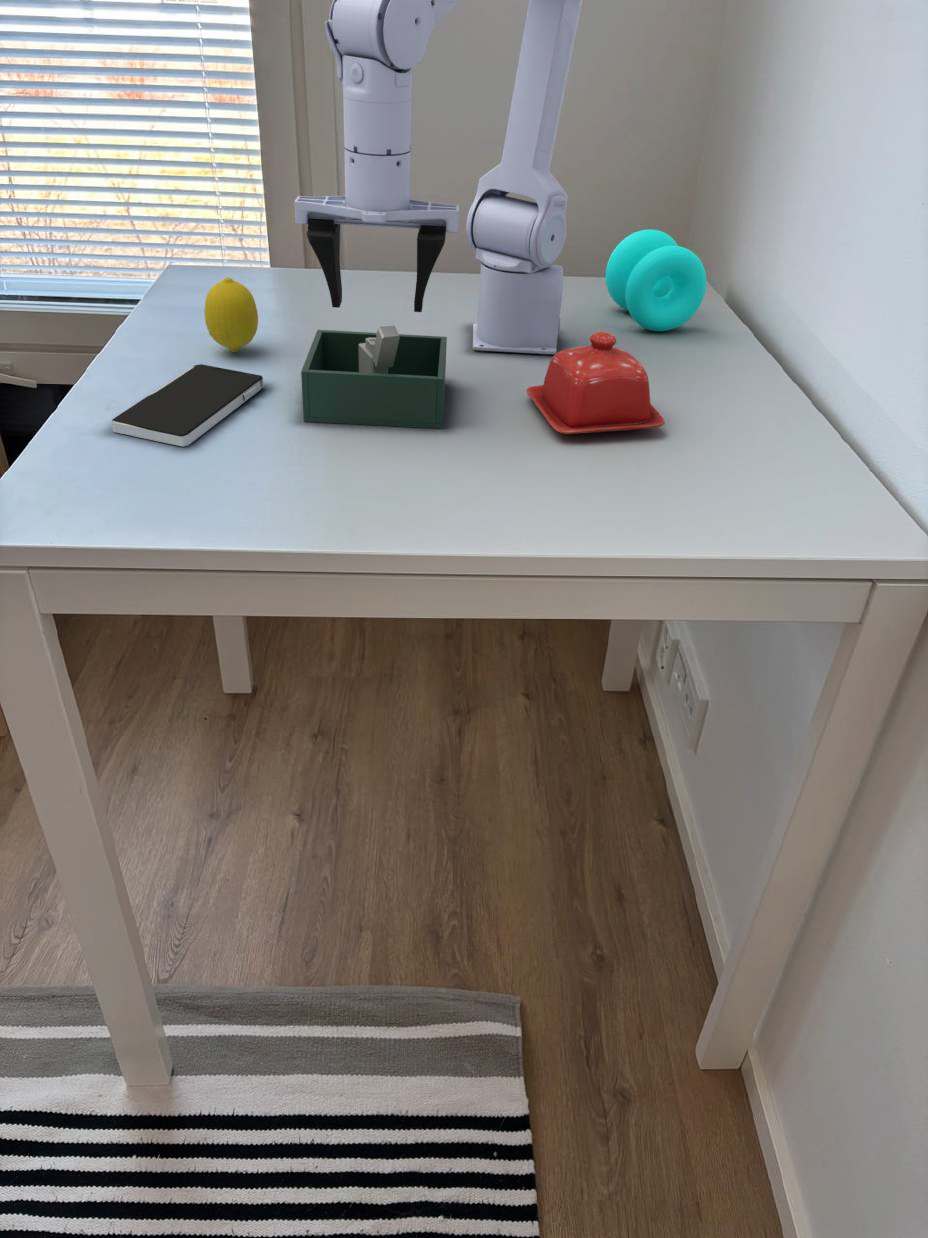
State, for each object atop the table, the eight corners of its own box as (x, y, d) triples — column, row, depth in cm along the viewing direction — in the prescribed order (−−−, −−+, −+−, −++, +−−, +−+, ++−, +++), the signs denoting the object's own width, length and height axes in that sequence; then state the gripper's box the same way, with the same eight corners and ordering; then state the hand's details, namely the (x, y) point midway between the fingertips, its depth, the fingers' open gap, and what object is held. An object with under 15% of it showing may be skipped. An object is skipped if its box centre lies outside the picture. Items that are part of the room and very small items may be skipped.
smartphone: (107, 420, 87) (196, 362, 98) (109, 432, 88) (197, 373, 99) (185, 437, 85) (266, 376, 96) (187, 449, 86) (267, 387, 97)
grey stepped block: (358, 384, 98) (357, 306, 93) (374, 382, 98) (374, 304, 94) (382, 412, 93) (382, 331, 88) (399, 410, 93) (400, 329, 89)
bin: (444, 383, 101) (446, 336, 98) (441, 428, 92) (443, 379, 89) (319, 376, 100) (317, 329, 97) (303, 421, 91) (301, 371, 88)
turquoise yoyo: (624, 335, 115) (638, 250, 109) (597, 308, 123) (608, 226, 117) (701, 333, 117) (718, 249, 111) (669, 306, 125) (683, 226, 119)
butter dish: (520, 396, 99) (528, 314, 94) (624, 391, 101) (637, 311, 96) (555, 446, 90) (565, 358, 85) (668, 438, 92) (685, 353, 87)
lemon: (249, 364, 102) (242, 288, 97) (200, 357, 103) (191, 282, 98) (268, 346, 106) (263, 273, 102) (220, 340, 107) (213, 267, 102)
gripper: (285, 152, 79) (294, 316, 87) (460, 163, 79) (453, 324, 87) (298, 137, 85) (305, 291, 93) (462, 146, 85) (454, 300, 93)
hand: (377, 306), depth 91 cm, fingers open, 7 cm apart
